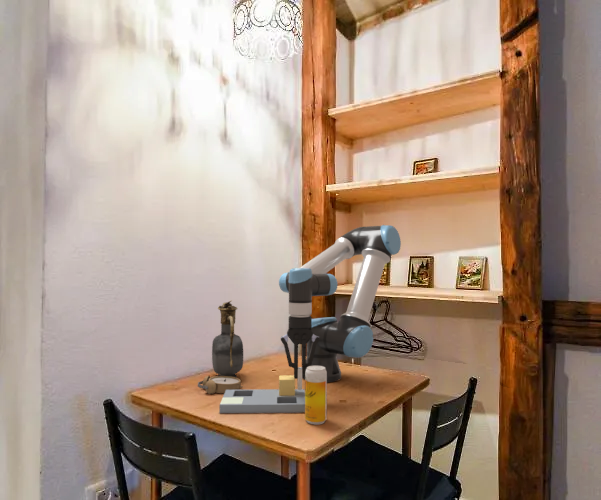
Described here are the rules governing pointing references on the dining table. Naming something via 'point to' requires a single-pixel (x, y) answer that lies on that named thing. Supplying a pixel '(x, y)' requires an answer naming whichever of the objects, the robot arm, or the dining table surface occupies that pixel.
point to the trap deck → (262, 401)
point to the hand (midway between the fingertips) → (299, 388)
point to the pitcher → (227, 344)
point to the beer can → (315, 394)
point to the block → (286, 385)
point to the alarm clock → (220, 384)
